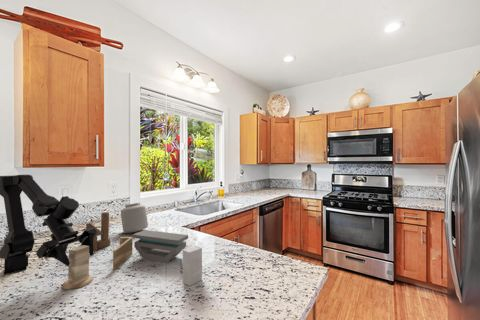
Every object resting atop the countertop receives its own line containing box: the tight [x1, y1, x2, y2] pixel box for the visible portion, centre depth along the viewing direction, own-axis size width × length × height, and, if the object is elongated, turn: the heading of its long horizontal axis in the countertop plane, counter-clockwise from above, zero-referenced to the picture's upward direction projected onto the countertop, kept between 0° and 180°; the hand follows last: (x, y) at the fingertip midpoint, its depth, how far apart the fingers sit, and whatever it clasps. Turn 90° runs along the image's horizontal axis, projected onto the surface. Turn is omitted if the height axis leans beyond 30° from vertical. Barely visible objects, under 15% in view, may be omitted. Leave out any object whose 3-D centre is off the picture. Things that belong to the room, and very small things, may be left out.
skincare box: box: [182, 245, 203, 287], centre depth 82 cm, size 6×4×12 cm
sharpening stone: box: [132, 229, 189, 264], centre depth 102 cm, size 25×8×11 cm, turn 71°
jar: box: [120, 202, 149, 234], centre depth 143 cm, size 19×15×25 cm
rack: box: [112, 236, 134, 271], centre depth 99 cm, size 6×17×8 cm, turn 4°
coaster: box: [61, 274, 94, 291], centre depth 80 cm, size 9×9×1 cm
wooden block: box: [85, 211, 111, 252], centre depth 114 cm, size 4×11×18 cm, turn 158°
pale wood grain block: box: [67, 244, 90, 285], centre depth 81 cm, size 4×5×12 cm
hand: (81, 259), depth 80 cm, fingers open, 9 cm apart
